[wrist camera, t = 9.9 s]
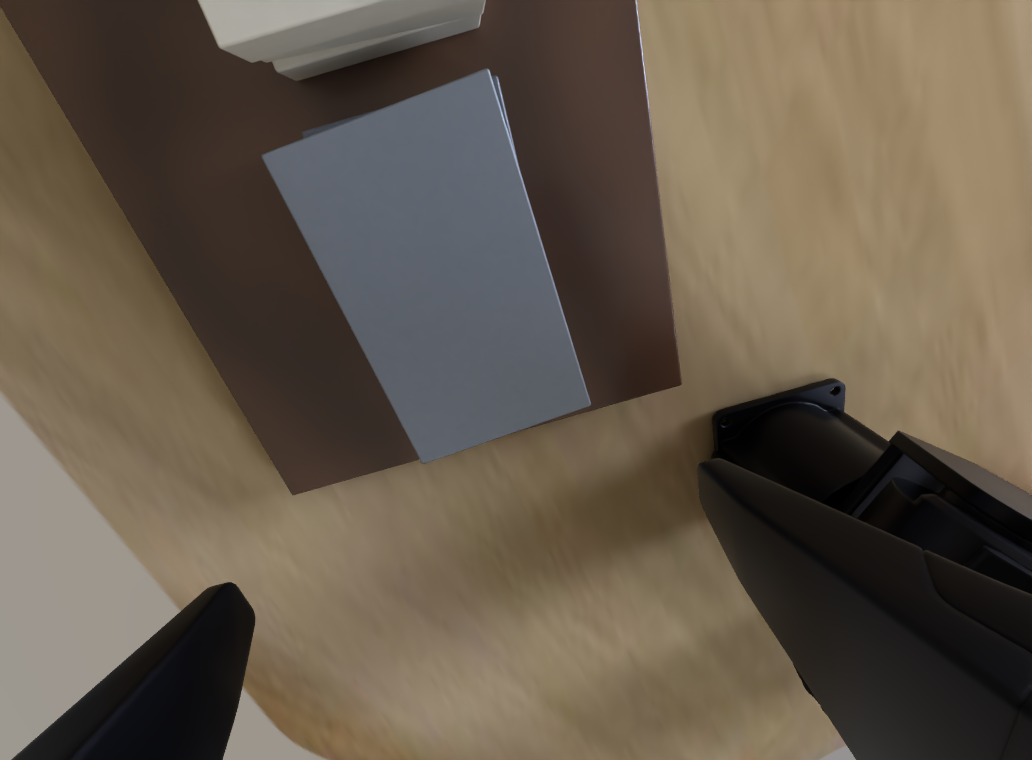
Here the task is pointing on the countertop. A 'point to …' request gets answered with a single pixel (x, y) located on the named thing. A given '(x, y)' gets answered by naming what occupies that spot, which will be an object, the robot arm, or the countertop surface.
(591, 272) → the walnut board
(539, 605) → the countertop surface
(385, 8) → the cream book
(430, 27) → the white stack
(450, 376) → the grey stack
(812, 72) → the countertop surface
